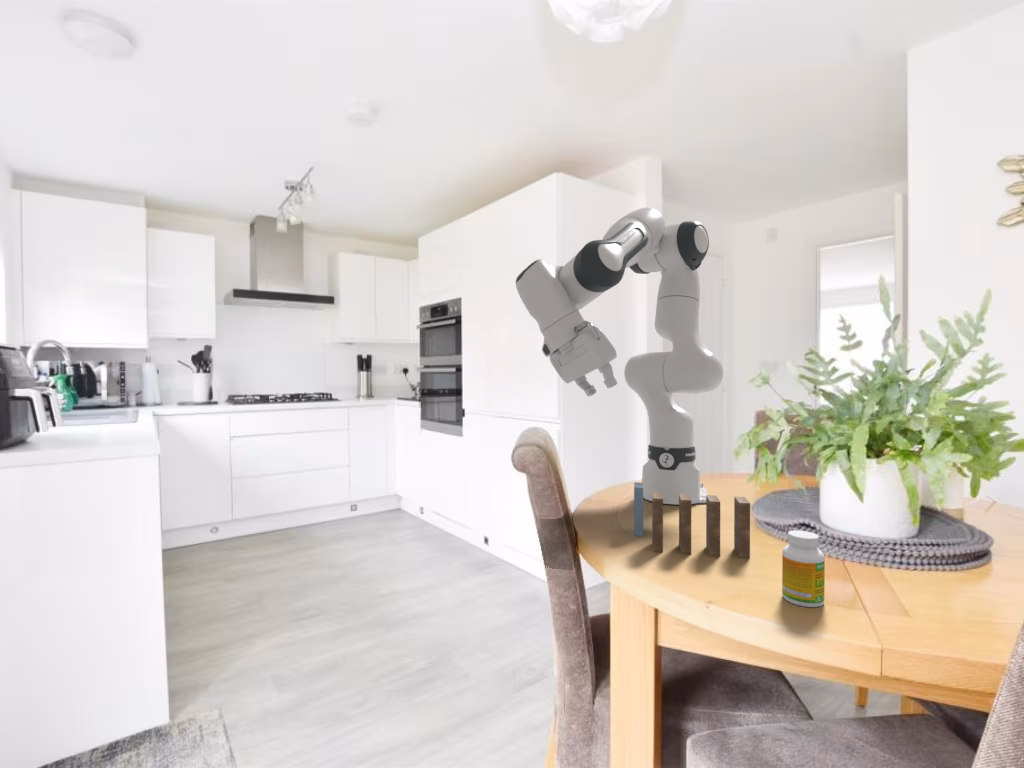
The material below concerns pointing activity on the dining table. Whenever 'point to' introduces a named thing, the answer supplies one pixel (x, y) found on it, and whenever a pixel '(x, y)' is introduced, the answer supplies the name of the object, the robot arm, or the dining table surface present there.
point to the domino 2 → (657, 522)
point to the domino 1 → (638, 509)
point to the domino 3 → (685, 523)
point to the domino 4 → (713, 525)
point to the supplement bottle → (803, 570)
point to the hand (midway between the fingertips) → (602, 390)
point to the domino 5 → (742, 527)
